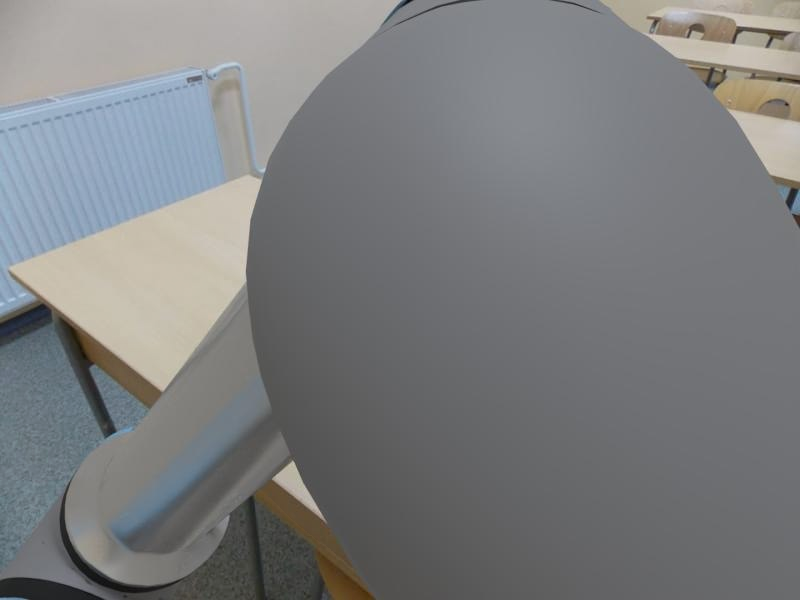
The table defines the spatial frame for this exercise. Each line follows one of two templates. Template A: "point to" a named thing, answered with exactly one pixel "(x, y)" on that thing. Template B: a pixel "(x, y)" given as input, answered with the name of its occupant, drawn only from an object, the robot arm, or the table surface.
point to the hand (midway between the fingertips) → (453, 434)
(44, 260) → the table surface
